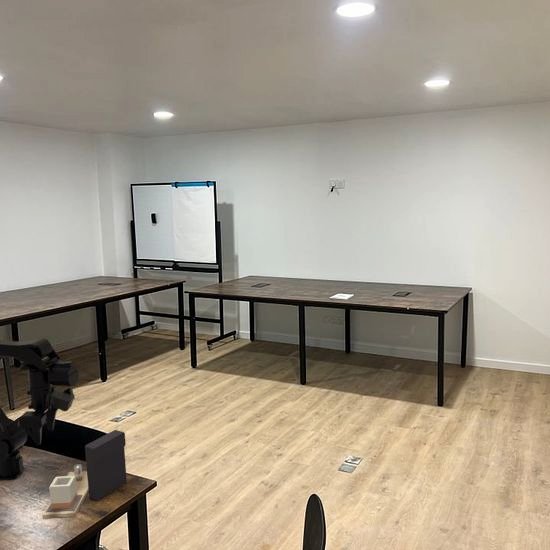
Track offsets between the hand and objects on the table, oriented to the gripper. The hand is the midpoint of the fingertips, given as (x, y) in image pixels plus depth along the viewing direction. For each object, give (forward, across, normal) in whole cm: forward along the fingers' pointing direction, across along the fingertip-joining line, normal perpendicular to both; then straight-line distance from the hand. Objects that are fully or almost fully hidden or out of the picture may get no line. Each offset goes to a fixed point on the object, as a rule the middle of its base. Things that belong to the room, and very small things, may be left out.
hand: (44, 437), depth 154 cm
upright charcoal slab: (+12, -9, -20) cm, 25 cm away
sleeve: (+11, -16, -10) cm, 22 cm away
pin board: (+12, -10, -10) cm, 19 cm away
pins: (+12, -10, -10) cm, 19 cm away
